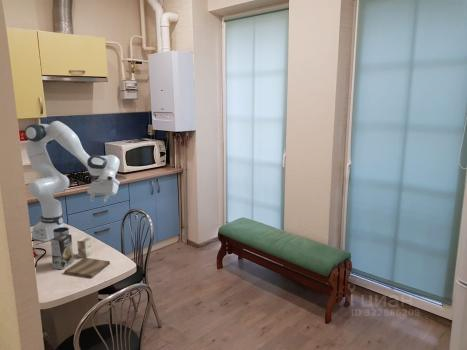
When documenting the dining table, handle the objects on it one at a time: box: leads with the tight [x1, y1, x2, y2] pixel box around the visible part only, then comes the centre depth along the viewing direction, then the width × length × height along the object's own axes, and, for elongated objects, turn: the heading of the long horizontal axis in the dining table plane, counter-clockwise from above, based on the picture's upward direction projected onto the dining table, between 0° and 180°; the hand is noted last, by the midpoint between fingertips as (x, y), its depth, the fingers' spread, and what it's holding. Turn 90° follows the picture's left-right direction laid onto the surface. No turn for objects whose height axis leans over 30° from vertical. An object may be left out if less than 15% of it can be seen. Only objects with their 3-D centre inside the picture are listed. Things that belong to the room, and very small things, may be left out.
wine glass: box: [53, 226, 70, 238], centre depth 205 cm, size 8×8×15 cm
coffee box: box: [50, 233, 74, 270], centre depth 192 cm, size 9×6×16 cm
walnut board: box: [64, 257, 111, 279], centre depth 191 cm, size 16×16×2 cm
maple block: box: [76, 236, 92, 259], centre depth 204 cm, size 5×5×10 cm
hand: (98, 201), depth 210 cm, fingers open, 8 cm apart
